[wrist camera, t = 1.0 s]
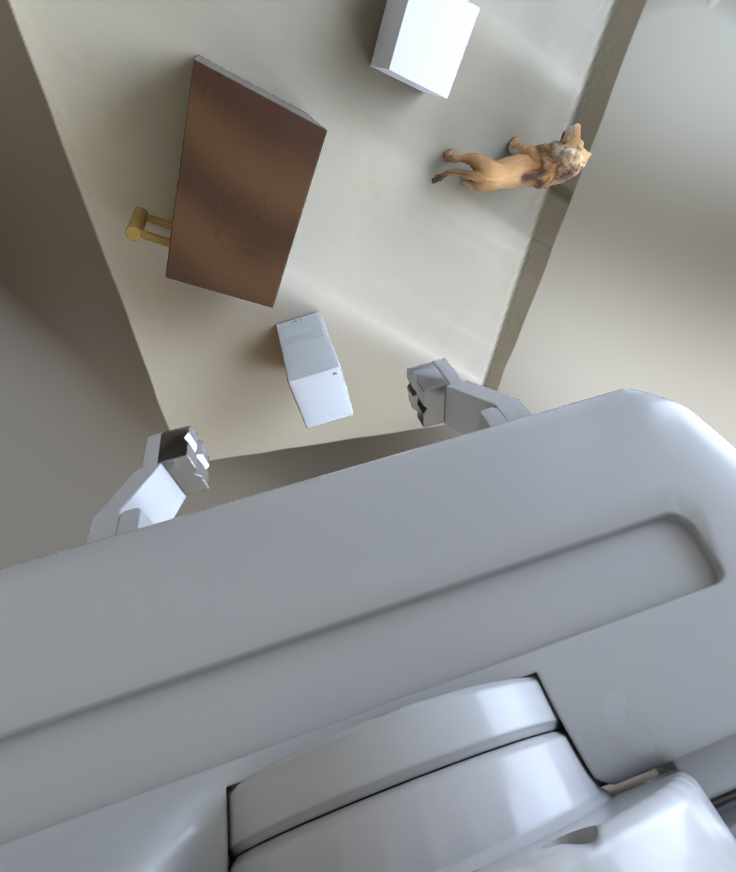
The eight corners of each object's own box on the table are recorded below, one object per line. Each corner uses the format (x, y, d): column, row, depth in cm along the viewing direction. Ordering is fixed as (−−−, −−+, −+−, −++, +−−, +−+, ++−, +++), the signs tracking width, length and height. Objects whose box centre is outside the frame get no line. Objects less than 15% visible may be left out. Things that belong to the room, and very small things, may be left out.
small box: (274, 323, 53) (286, 381, 44) (320, 310, 53) (341, 364, 45) (293, 371, 59) (307, 430, 50) (333, 358, 59) (354, 415, 50)
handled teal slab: (141, 139, 36) (129, 155, 31) (195, 161, 38) (192, 181, 33) (135, 218, 40) (124, 244, 35) (184, 234, 42) (180, 262, 37)
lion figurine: (550, 111, 44) (603, 123, 38) (545, 165, 48) (593, 184, 42) (427, 155, 44) (461, 174, 38) (432, 206, 48) (464, 231, 42)
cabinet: (197, 54, 34) (193, 58, 27) (307, 113, 39) (327, 130, 32) (173, 239, 43) (165, 277, 36) (264, 269, 48) (272, 308, 41)
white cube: (450, 11, 37) (480, 8, 32) (423, 92, 40) (447, 99, 36) (392, -25, 34) (417, -33, 30) (369, 65, 38) (389, 69, 34)
